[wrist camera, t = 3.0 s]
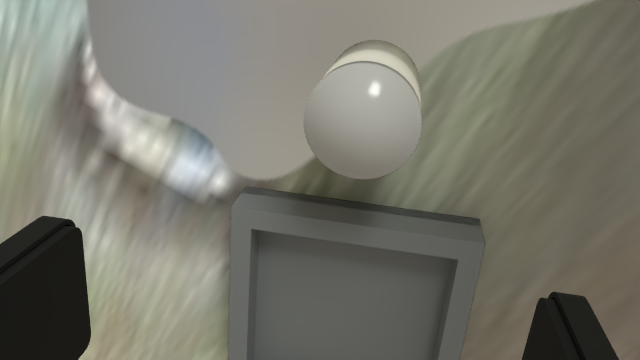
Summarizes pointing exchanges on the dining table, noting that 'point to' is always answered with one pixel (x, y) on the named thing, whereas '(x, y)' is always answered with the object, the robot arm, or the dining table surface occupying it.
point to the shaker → (366, 111)
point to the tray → (348, 279)
